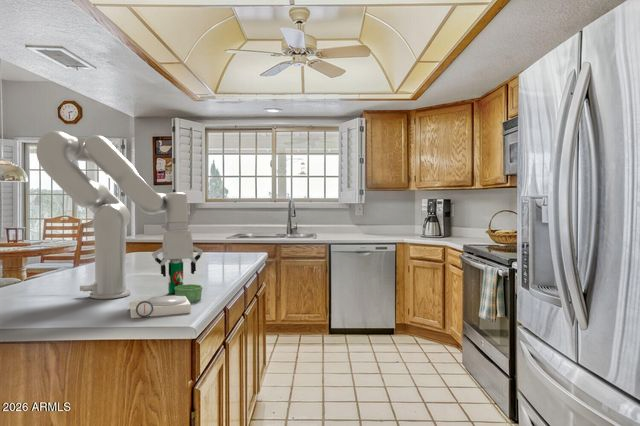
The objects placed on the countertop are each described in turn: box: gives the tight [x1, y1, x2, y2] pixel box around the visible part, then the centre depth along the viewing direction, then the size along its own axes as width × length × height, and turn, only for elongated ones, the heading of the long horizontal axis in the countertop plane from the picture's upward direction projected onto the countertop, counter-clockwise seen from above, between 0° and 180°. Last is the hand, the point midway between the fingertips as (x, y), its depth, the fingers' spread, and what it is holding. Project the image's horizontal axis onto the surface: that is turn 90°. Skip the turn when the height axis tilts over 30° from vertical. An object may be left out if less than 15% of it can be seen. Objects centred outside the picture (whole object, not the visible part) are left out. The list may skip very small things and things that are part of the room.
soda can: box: [167, 259, 184, 295], centre depth 149 cm, size 5×5×12 cm
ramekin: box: [174, 283, 203, 303], centre depth 139 cm, size 9×9×4 cm
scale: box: [129, 295, 192, 319], centre depth 124 cm, size 16×13×4 cm
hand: (178, 274), depth 149 cm, fingers open, 9 cm apart
